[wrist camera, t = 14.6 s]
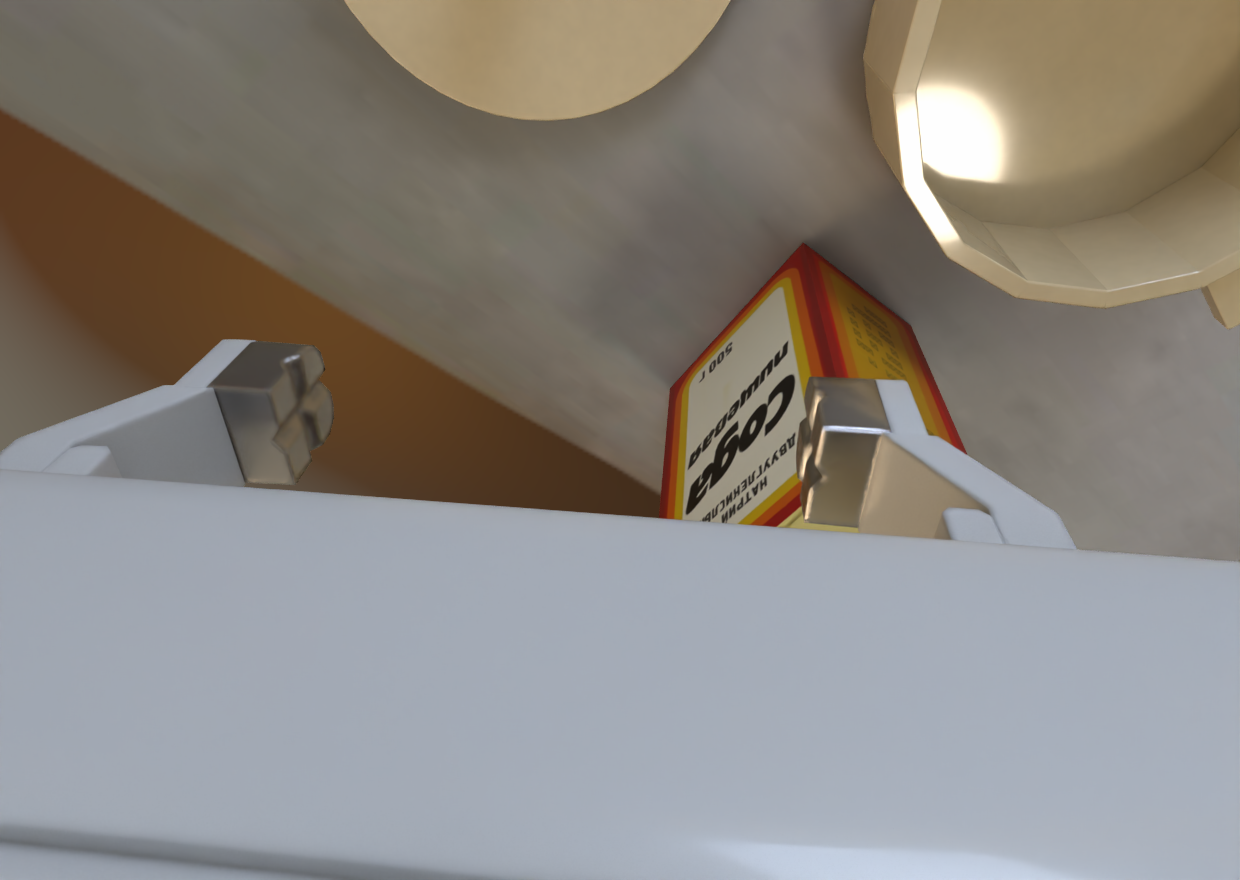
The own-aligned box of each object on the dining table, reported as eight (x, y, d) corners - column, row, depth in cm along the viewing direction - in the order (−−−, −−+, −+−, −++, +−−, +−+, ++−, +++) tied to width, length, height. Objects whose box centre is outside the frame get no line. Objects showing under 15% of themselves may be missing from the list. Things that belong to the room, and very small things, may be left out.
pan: (1218, -504, 21) (1386, -629, 16) (1407, 128, 29) (1559, 183, 24) (742, -69, 28) (749, -55, 23) (1005, 348, 36) (1055, 428, 31)
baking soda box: (770, 455, 41) (796, 726, 28) (669, 388, 39) (648, 643, 26) (911, 326, 36) (1022, 581, 23) (803, 242, 34) (858, 467, 21)
